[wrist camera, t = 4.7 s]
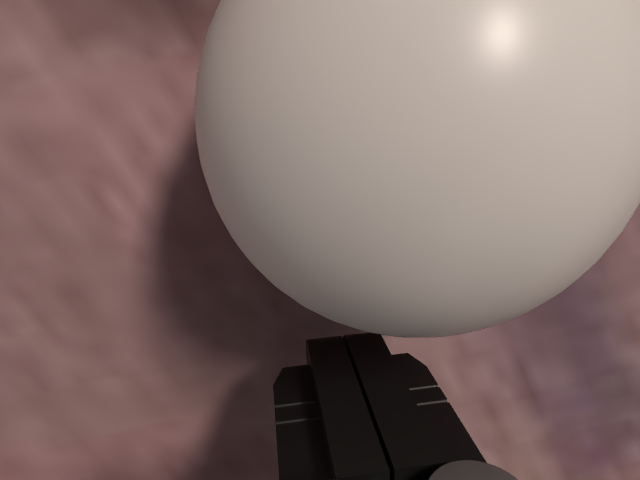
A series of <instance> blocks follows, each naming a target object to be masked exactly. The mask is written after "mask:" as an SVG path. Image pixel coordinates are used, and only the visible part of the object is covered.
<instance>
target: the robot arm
mask: <svg viewBox="0 0 640 480" xmlns="http://www.w3.org/2000/svg"><path fill="white" fill-rule="evenodd" d="M306 357H307V365H303V366H294V367H286V368H283V369H282V370H281V372H280V374H279V376H278V378H277V379H276V381H275V383H274V385H273V389H274V404H275V419H276V435H277V450H278V465H279V480H518V479H516V478H515V477H514V476H512V475H511V474H509V473H508V472H506V471H505V470H503V469H501V468H499V467H496V466H494V465H491V464H488V463H486V461H485V459H484V458H483V456H482V455H481V453H480V451H479V450H478V448H477V446H476V445H475V443H474V442H473V440H472V438H471V437H470V435H469V434H468V432H467V430H466V429H465V427H464V426H463V424H462V422H461V421H460V419H459V418H458V416H457V414H456V413H455V411H454V410H453V408H452V406H451V405H450V403H447V398H446V397H445V395H444V393H443V392H442V390H441V389H440V387H439V388H438V384H437V382H436V381H435V379H434V377H433V376H432V374H431V373H430V371H429V369H428V368H427V366H425V365H424V364H423V363H421V362H420V361H418V360H417V359H415V358H414V357H413V356H411V355H410V354H408V353H404V354H395V355H391V353H390V351H389V349H388V347H387V345H386V344H385V342H384V340H383V338H382V336H381V334H377V333H362V334H353V335H344V336H343V338H342V336H336V337H327V338H318V339H309V340H306Z"/></svg>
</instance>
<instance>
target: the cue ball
mask: <svg viewBox="0 0 640 480" xmlns="http://www.w3.org/2000/svg"><path fill="white" fill-rule="evenodd" d="M195 128H196V138H197V145H198V151H199V157H200V163H201V167H202V170H203V174H204V177H205V180H206V183H207V186H208V189H209V192H210V195H211V197H212V200H213V203H214V206H215V208H216V209H217V211H218V213H219V215H220V217H221V219H222V221H223V223H224V224H225V226H226V228H227V230H228V231H229V233H230V235H231V237H232V238H233V240H234V241H235V243H236V244H237V245H238V247H239V248H240V249H241V251H242V252H243V253H244V255H245V256H246V257H247V258H248V260H249V261H250V262H251V263H252V264H253V265H254V266H255V267H256V268H257V269H258V270H259V271H260V272H261V273H262V274H263V275H264V276H265V277H266V278H267V279H268V280H269V281H270V282H271V283H272V284H273V285H274V286H275V287H277V288H278V289H280V290H281V291H282V292H284V293H285V294H287V295H288V296H289V297H291V298H292V299H294V300H295V301H296V302H298V303H299V304H301V305H302V306H304V307H305V308H307V309H309V310H311V311H313V312H315V313H317V314H319V315H321V316H323V317H325V318H327V319H330V320H332V321H334V322H337V323H340V324H343V325H346V326H349V327H352V328H355V329H358V330H362V331H365V332H370V333H377V334H383V335H389V336H395V337H445V336H452V335H458V334H464V333H468V332H473V331H477V330H481V329H484V328H488V327H491V326H494V325H497V324H500V323H503V322H506V321H508V320H511V319H513V318H516V317H518V316H520V315H523V314H525V313H527V312H529V311H530V310H532V309H534V308H536V307H537V306H539V305H541V304H542V303H544V302H546V301H547V300H549V299H551V298H552V297H554V296H556V295H557V294H559V293H560V292H562V291H563V290H565V289H566V288H567V287H568V286H570V285H571V284H572V283H573V282H574V281H575V280H577V279H578V278H579V277H580V276H581V275H582V274H584V273H585V272H586V271H587V270H588V269H589V268H591V267H592V266H593V265H594V264H595V263H596V262H597V261H598V260H599V259H600V257H601V256H602V255H603V254H604V253H605V251H606V250H607V249H608V248H609V247H610V245H611V244H612V243H613V242H614V241H615V240H616V238H617V237H618V236H619V235H620V233H621V232H622V231H623V230H624V228H625V226H626V225H627V223H628V221H629V220H630V218H631V216H632V215H633V213H634V211H635V210H636V208H637V206H638V205H639V203H640V0H220V2H219V5H218V7H217V9H216V12H215V14H214V16H213V19H212V21H211V23H210V26H209V28H208V31H207V35H206V38H205V42H204V46H203V50H202V54H201V59H200V63H199V68H198V73H197V81H196V93H195Z"/></svg>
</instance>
